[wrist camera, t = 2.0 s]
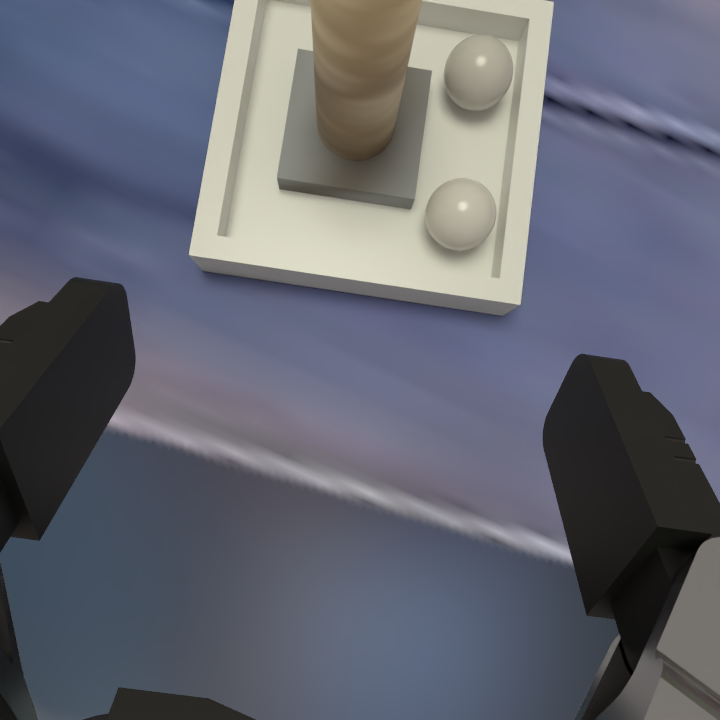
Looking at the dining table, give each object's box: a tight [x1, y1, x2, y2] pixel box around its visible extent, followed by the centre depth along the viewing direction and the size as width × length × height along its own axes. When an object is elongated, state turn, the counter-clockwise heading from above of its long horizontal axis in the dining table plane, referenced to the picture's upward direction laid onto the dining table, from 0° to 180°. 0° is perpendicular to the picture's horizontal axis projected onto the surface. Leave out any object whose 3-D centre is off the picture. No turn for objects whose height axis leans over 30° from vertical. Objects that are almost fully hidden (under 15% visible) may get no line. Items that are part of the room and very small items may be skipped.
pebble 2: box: [425, 178, 497, 251], centre depth 24 cm, size 3×3×3 cm
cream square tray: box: [189, 0, 554, 316], centre depth 25 cm, size 14×14×2 cm
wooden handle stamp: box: [277, 0, 432, 209], centre depth 21 cm, size 6×6×10 cm
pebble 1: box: [444, 34, 513, 111], centre depth 25 cm, size 3×3×3 cm
